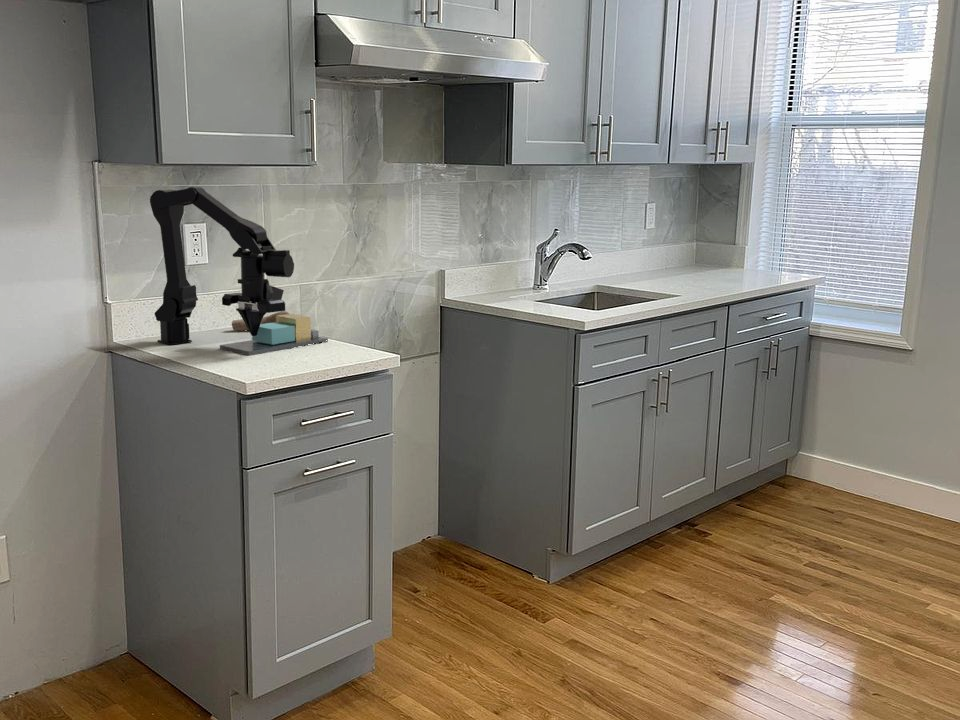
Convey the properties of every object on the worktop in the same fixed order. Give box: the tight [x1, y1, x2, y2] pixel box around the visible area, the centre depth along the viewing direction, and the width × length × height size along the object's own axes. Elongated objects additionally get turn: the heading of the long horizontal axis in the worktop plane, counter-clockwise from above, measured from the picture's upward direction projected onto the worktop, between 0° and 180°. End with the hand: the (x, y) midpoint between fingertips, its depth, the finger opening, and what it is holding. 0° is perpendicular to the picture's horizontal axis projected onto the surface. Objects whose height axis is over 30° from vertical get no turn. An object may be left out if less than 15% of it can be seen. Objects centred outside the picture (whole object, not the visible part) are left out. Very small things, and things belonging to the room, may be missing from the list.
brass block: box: [276, 313, 312, 342], centre depth 252 cm, size 8×5×6 cm, turn 51°
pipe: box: [231, 310, 290, 332], centre depth 268 cm, size 6×17×10 cm
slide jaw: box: [251, 322, 295, 345], centre depth 248 cm, size 8×8×4 cm
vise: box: [219, 328, 329, 356], centre depth 248 cm, size 26×12×3 cm, turn 141°
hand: (254, 335), depth 243 cm, fingers closed
